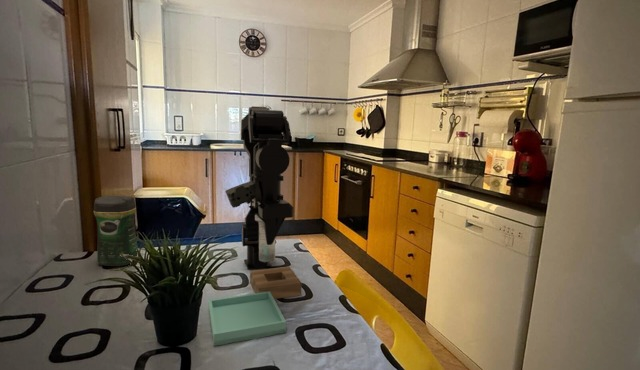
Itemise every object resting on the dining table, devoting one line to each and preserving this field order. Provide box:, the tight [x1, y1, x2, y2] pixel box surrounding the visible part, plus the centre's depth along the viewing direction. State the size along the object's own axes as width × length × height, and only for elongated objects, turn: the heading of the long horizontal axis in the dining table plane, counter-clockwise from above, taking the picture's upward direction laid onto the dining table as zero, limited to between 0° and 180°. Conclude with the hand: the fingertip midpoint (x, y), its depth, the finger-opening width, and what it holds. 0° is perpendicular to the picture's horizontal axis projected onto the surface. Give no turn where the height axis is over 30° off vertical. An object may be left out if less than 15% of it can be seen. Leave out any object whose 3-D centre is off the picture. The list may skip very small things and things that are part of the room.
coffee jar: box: [93, 195, 139, 267], centre depth 95 cm, size 10×8×19 cm
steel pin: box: [255, 213, 276, 263], centre depth 76 cm, size 5×5×10 cm
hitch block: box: [249, 266, 302, 300], centre depth 83 cm, size 10×10×3 cm
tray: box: [207, 291, 287, 347], centre depth 69 cm, size 13×13×2 cm
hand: (266, 241), depth 76 cm, fingers closed on steel pin, 4 cm apart
